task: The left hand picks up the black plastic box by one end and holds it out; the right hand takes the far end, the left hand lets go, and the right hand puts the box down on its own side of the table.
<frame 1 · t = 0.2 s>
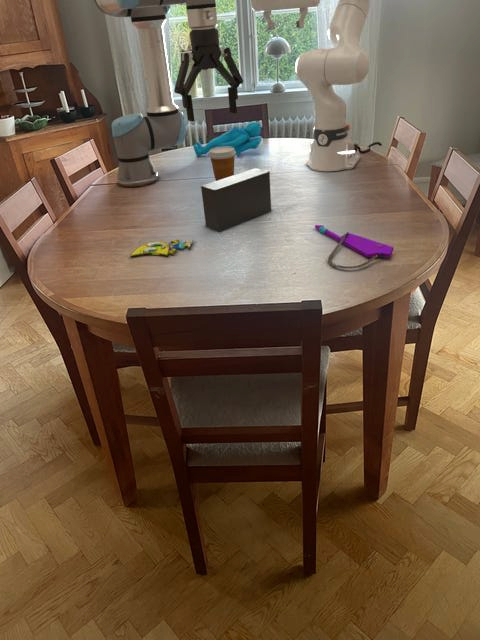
left hand: (212, 116, 135), 28 cm above the table, tool pointing down, fingers open, 13 cm apart
right hand: (285, 28, 135), 47 cm above the table, tool pointing down, fingers open, 8 cm apart
toy: (228, 154, 208), on the table
disposable coffee cup: (225, 184, 173), on the table
box: (239, 218, 143), on the table
toy 2: (163, 249, 129), on the table
musical instrument: (342, 250, 120), on the table
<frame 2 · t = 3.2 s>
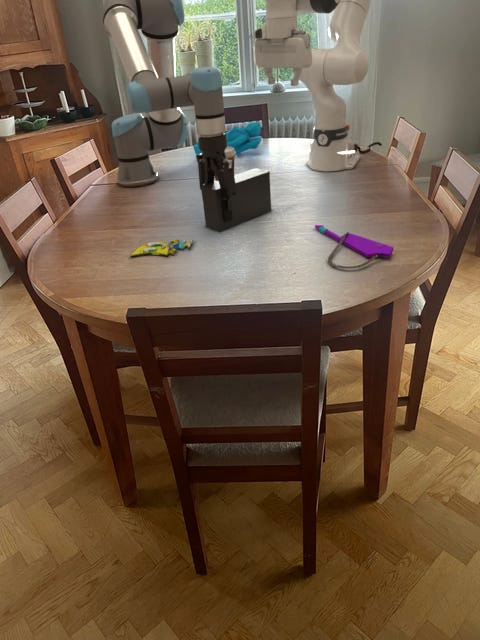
left hand: (220, 217, 138), 3 cm above the table, tool pointing down, fingers closed on box, 6 cm apart
right hand: (282, 85, 141), 33 cm above the table, tool pointing down, fingers open, 8 cm apart
box: (239, 218, 143), on the table, touching left hand
everything else where it was.
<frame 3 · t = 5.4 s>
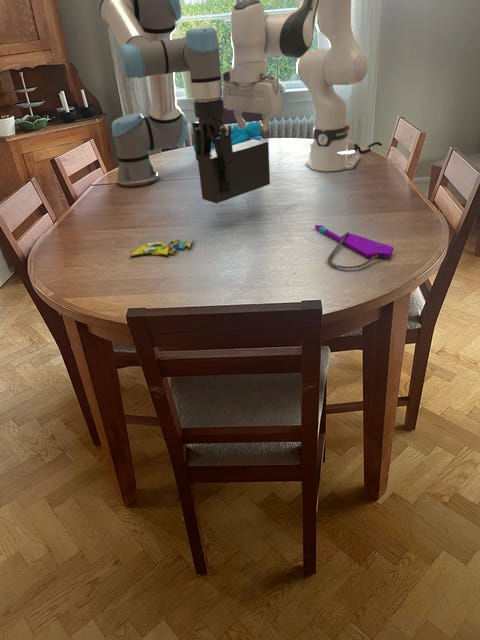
left hand: (217, 189, 134), 11 cm above the table, tool pointing down, fingers closed on box, 6 cm apart
right hand: (252, 129, 134), 24 cm above the table, tool pointing down, fingers open, 8 cm apart
box: (237, 191, 139), point 8 cm above the table, touching left hand
everything else where it was.
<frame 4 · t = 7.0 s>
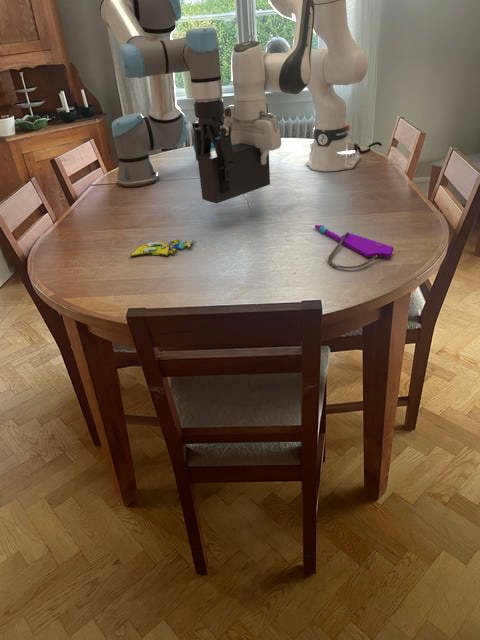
left hand: (217, 189, 134), 11 cm above the table, tool pointing down, fingers closed on box, 6 cm apart
right hand: (253, 161, 138), 15 cm above the table, tool pointing down, fingers closed on box, 6 cm apart
box: (237, 191, 139), point 8 cm above the table, touching left hand, right hand
everything else where it was.
when the left hand's fingers open (11 cm above the table, at t = 8.0 s): box stays where it is, held by the right hand.
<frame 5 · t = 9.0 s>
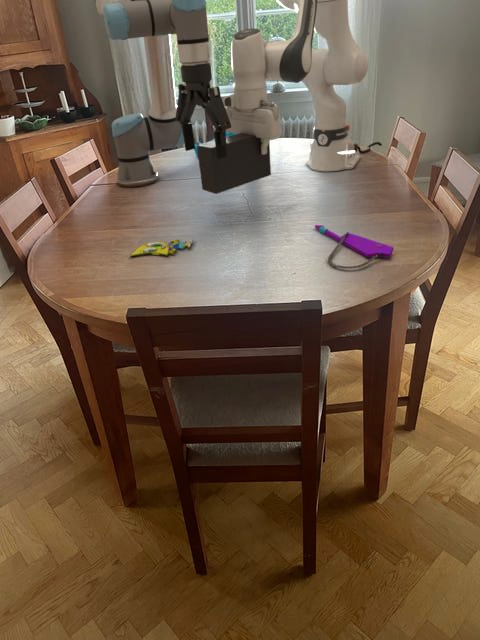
left hand: (205, 153, 127), 21 cm above the table, tool pointing down, fingers open, 13 cm apart
right hand: (254, 152, 137), 18 cm above the table, tool pointing down, fingers closed on box, 6 cm apart
box: (237, 182, 137), point 11 cm above the table, touching right hand
everything else where it was.
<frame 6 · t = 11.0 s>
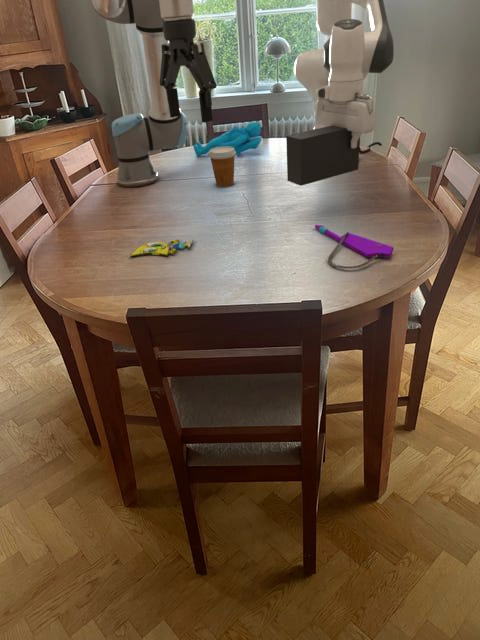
left hand: (190, 119, 120), 30 cm above the table, tool pointing down, fingers open, 13 cm apart
right hand: (343, 145, 135), 18 cm above the table, tool pointing down, fingers closed on box, 6 cm apart
box: (323, 175, 136), point 11 cm above the table, touching right hand
everything else where it was.
when the right hand's fingers open (8 cm above the table, at t = 12.9 s): box moves 1 cm, on the table.
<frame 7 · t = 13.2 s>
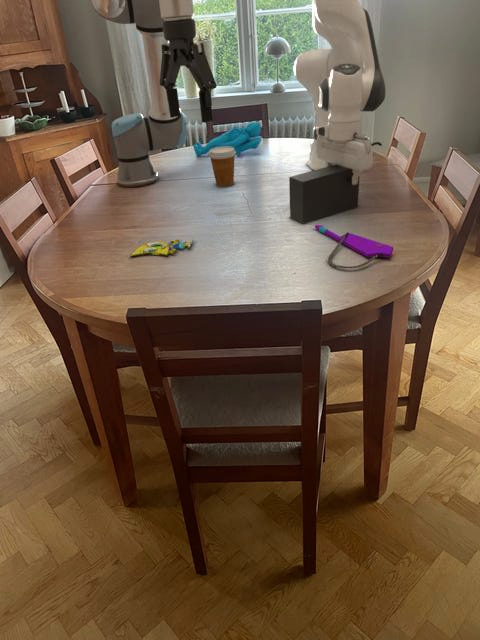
left hand: (190, 119, 120), 30 cm above the table, tool pointing down, fingers open, 13 cm apart
right hand: (342, 180, 140), 8 cm above the table, tool pointing down, fingers open, 8 cm apart
box: (324, 212, 142), on the table
everything else where it was.
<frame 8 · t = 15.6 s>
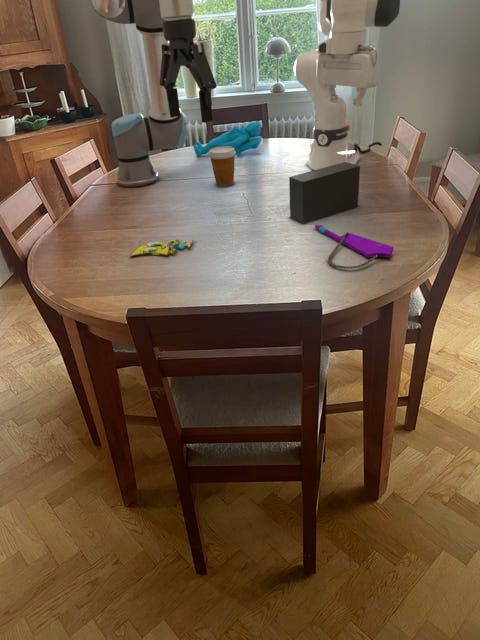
left hand: (190, 119, 120), 30 cm above the table, tool pointing down, fingers open, 13 cm apart
right hand: (345, 104, 129), 29 cm above the table, tool pointing down, fingers open, 8 cm apart
nothing on the table moved.
at the end: box inside the target area (6.5 cm from its centre), on the table; the left hand is holding nothing; the right hand is holding nothing; box at rest at the end (0.0 cm/s) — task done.
